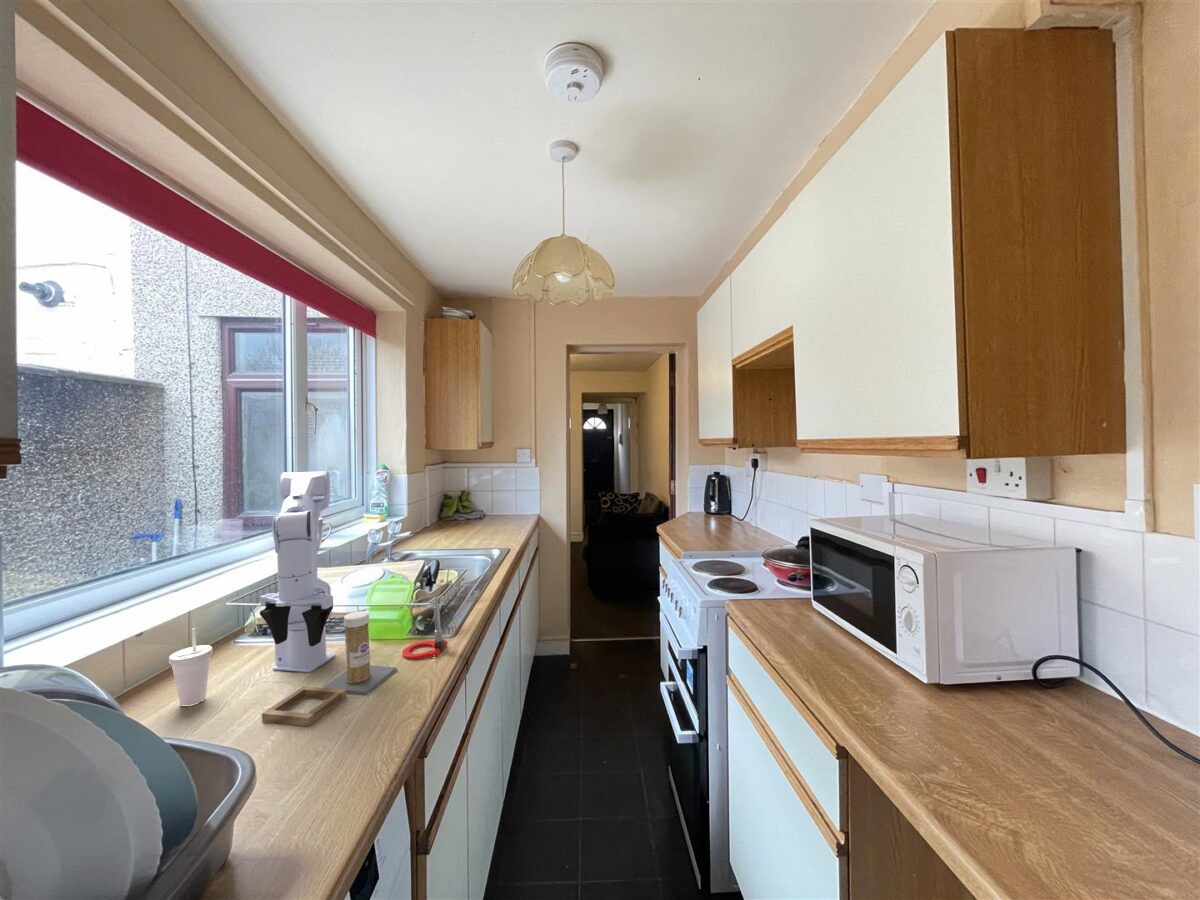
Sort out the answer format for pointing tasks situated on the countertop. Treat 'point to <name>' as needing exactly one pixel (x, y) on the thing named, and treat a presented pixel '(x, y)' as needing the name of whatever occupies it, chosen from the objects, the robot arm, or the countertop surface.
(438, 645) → the tow hook
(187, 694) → the smoothie
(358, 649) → the sprinkles bottle
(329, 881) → the countertop surface
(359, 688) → the coaster
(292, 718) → the collar
